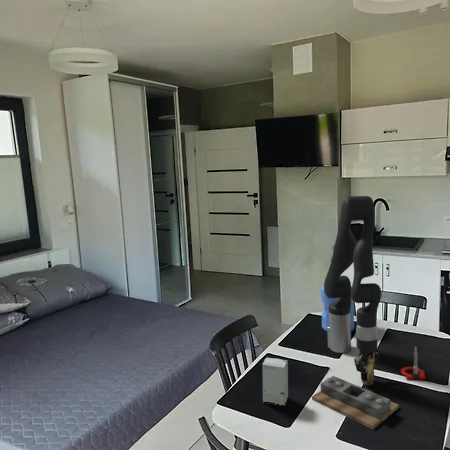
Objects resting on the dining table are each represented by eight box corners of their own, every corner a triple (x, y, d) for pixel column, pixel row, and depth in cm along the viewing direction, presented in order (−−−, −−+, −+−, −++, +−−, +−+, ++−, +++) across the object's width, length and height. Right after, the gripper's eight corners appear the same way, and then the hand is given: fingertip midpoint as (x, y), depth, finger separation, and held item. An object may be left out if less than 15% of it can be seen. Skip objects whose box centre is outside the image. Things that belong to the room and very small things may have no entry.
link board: (312, 399, 150) (311, 385, 150) (338, 382, 160) (338, 369, 160) (372, 429, 132) (372, 414, 131) (398, 407, 142) (398, 393, 141)
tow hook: (398, 369, 168) (404, 380, 159) (398, 338, 166) (404, 347, 157) (420, 369, 166) (428, 380, 157) (420, 338, 165) (428, 347, 156)
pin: (358, 382, 159) (357, 358, 157) (365, 378, 162) (365, 354, 160) (369, 387, 155) (369, 362, 154) (376, 382, 158) (376, 358, 157)
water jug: (359, 326, 210) (358, 272, 206) (345, 337, 199) (343, 280, 194) (331, 319, 221) (330, 268, 216) (316, 329, 209) (314, 275, 205)
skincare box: (263, 403, 150) (260, 364, 148) (267, 394, 156) (265, 356, 154) (286, 406, 147) (284, 367, 145) (289, 397, 153) (287, 359, 151)
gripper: (368, 327, 163) (369, 368, 166) (346, 339, 154) (347, 382, 157) (386, 332, 157) (386, 375, 160) (365, 345, 148) (365, 389, 151)
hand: (367, 378), depth 158 cm, fingers closed on pin, 4 cm apart
